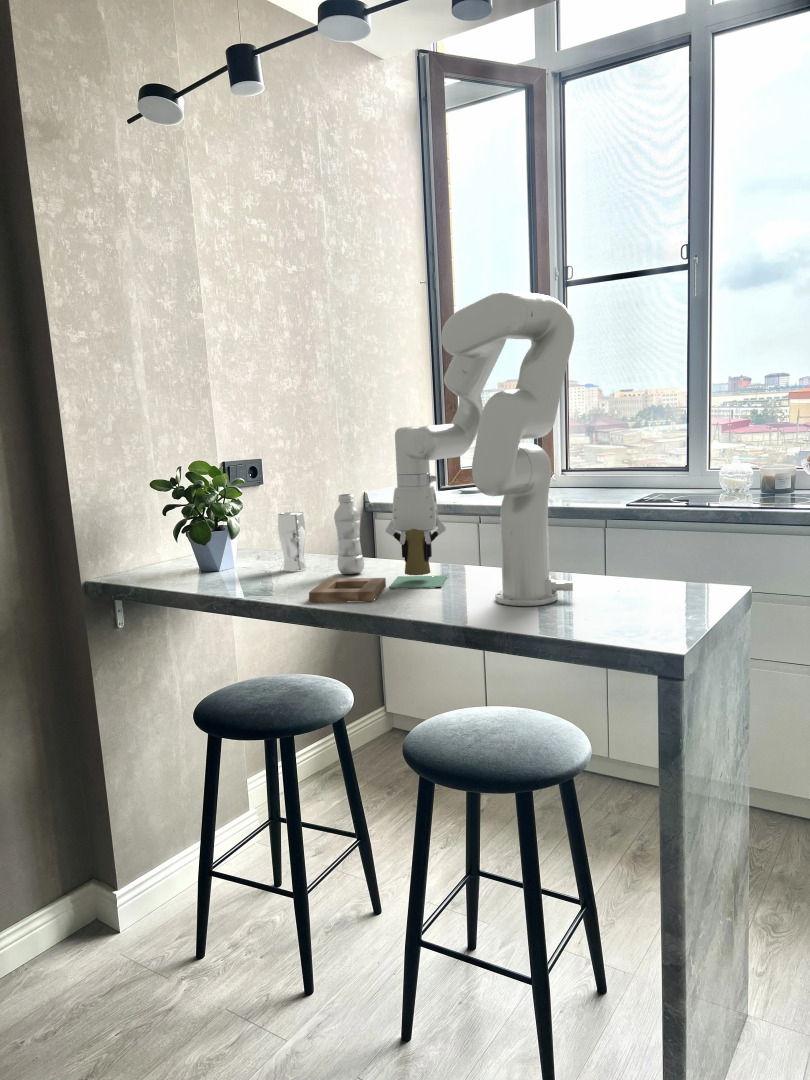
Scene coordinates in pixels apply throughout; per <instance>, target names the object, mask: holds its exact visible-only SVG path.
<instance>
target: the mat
mask: <svg viewBox="0 0 810 1080" xmlns="http://www.w3.org/2000/svg"><path fill="white" fill-rule="evenodd" d="M432 576H434V577H432ZM447 576H448V575H447V574H446V575H403V576H402V575H401V576H399V575H398V576H397V577H396V578H395V579H394V580H393V582H392V583H391V584H390V585H389V586H388V589H389V588H423V589H431V588H430V587H442V588H443V586H444V584H445V583H446V581H447V579H448V577H447ZM446 578H447V579H446ZM445 580H446V581H445ZM444 582H445V583H444ZM442 585H443V586H442Z"/></svg>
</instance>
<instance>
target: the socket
mask: <svg viewBox="0 0 810 1080" xmlns="http://www.w3.org/2000/svg"><path fill="white" fill-rule="evenodd" d="M386 580H387V579H386V577H360V578H359V577H358V578H357V577H354V578H353V577H352V578H325V579H323V580H322V582H320V583H319V584H318V585H317V586H315V587H314V588H313V589H311V590H310V591H309V592H308V599H309V600H308V601H309V603H310V602H317V603H348V602H347V601H374V602H375V600H376V599H377V598H378V597H379V596H380V595H381V594H382V592H383V591H384V590H385V589H386V588H387V584H386V583H387V581H386ZM385 587H386V588H385ZM384 588H385V589H384ZM383 589H384V590H383ZM382 590H383V591H382ZM381 591H382V592H381ZM380 593H381V594H380ZM379 594H380V595H379ZM378 595H379V596H378ZM377 596H378V597H377ZM376 597H377V598H376ZM375 598H376V599H375ZM374 599H375V600H374Z"/></svg>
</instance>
